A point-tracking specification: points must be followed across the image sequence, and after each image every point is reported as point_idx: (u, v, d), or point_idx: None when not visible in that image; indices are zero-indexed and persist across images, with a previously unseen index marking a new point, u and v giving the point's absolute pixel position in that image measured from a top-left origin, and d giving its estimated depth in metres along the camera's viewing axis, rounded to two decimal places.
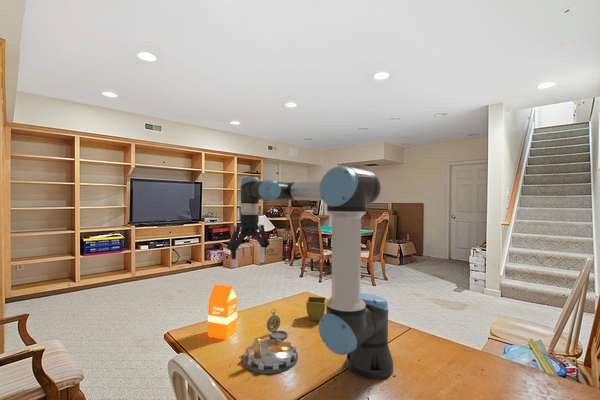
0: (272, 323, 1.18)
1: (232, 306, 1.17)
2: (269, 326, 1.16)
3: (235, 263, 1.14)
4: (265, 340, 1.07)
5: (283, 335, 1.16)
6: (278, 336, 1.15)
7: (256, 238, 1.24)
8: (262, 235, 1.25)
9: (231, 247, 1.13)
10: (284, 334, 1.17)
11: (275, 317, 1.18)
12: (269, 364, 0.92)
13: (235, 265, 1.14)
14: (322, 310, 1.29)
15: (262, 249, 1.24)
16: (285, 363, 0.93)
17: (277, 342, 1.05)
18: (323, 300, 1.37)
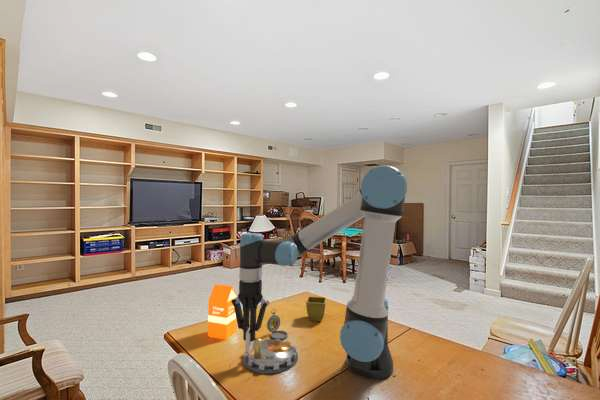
0: (272, 323, 1.18)
1: (232, 306, 1.17)
2: (269, 326, 1.16)
3: None
4: (264, 340, 1.07)
5: (283, 335, 1.16)
6: (278, 336, 1.15)
7: None
8: None
9: (239, 325, 0.96)
10: (284, 334, 1.17)
11: (275, 317, 1.18)
12: (270, 364, 0.92)
13: None
14: (322, 310, 1.29)
15: None
16: (286, 362, 0.93)
17: (277, 342, 1.05)
18: (323, 300, 1.37)
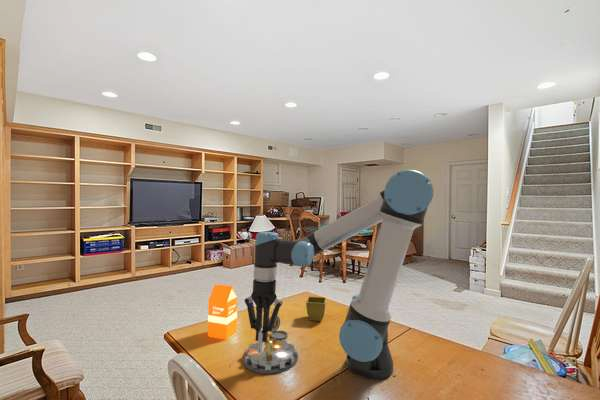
0: None
1: (232, 306, 1.17)
2: None
3: None
4: (251, 345, 1.03)
5: (283, 335, 1.16)
6: (278, 336, 1.15)
7: None
8: None
9: (251, 325, 0.94)
10: (284, 334, 1.17)
11: None
12: (286, 359, 0.94)
13: None
14: (322, 310, 1.29)
15: None
16: (295, 353, 0.99)
17: None
18: (323, 300, 1.37)
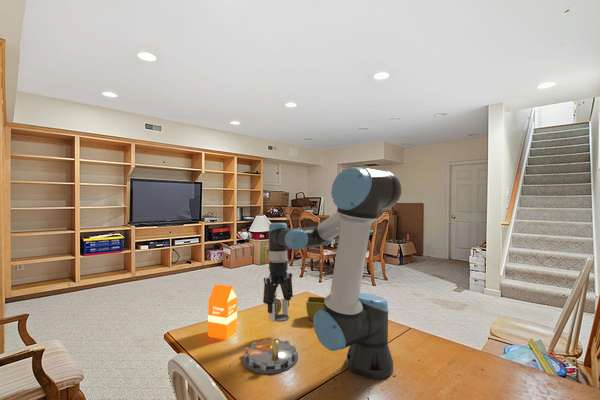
0: None
1: (232, 306, 1.17)
2: None
3: (272, 317, 1.13)
4: (248, 349, 1.00)
5: (285, 318, 1.16)
6: (280, 319, 1.15)
7: (281, 287, 1.19)
8: (288, 284, 1.20)
9: (268, 301, 1.11)
10: (286, 317, 1.16)
11: (276, 300, 1.18)
12: (291, 356, 0.96)
13: (272, 319, 1.13)
14: None
15: (285, 302, 1.18)
16: (295, 349, 1.02)
17: (259, 344, 1.04)
18: (323, 300, 1.37)
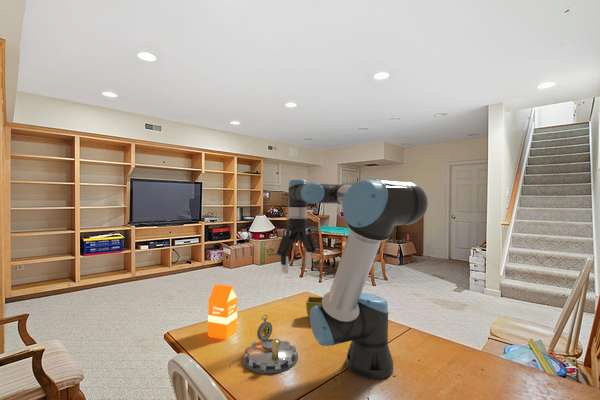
0: (263, 331, 1.05)
1: (232, 306, 1.17)
2: (260, 334, 1.03)
3: (285, 269, 1.11)
4: (248, 349, 1.00)
5: None
6: (270, 345, 1.02)
7: (303, 243, 1.20)
8: (308, 239, 1.21)
9: (282, 252, 1.09)
10: None
11: (266, 324, 1.05)
12: (291, 356, 0.96)
13: (285, 271, 1.11)
14: None
15: (309, 254, 1.21)
16: (295, 349, 1.02)
17: (259, 344, 1.04)
18: None
